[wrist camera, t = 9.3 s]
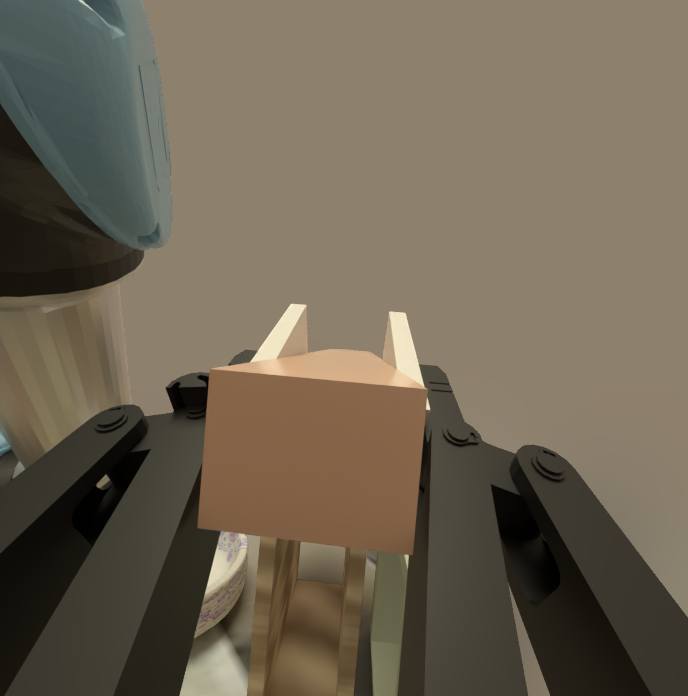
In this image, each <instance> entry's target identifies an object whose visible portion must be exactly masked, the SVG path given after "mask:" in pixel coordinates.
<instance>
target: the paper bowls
mask: <svg viewBox="0 0 688 696" xmlns="http://www.w3.org/2000/svg"><path fill="white" fill-rule="evenodd" d="M247 562H248V540H247V536H246V534H240V533H232V532H224V531H221V533H220V537H219V540H218V544H217V548H216V552H215V556H214V560H213V564H212V568H211V572H210V576H209V580H208V584H207V588H206V592H205V596H204V600H203V604H202V608H201V612H200V616H199V619H198V623H197V627H196V631H195V635H194V638H196V637H198V636H199V635H201V634H203V633H204V632H206V631H207V630H209V629H210V628H212V627H213V626H215V625H216V624H217V623H218V622H219V621H220V620H222V619H223V618H224V617H225V616H226V615H227V614H228V612H229V611H230V610H231V609H232V607H233V606H234V605H235V603H236V602H237V600H238V598H239V596H240V594H241V592H242V590H243V587H244V584H245V580H246V574H247Z"/></svg>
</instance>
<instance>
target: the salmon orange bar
mask: <svg viewBox="0 0 688 696" xmlns="http://www.w3.org/2000/svg"><path fill="white" fill-rule="evenodd" d="M427 394H428V389H427V388H425V387H424V386H422V385H421V384H419V383H417V382H416V381H414V380H413V379H411V378H410V377H408V376H407V375H405V374H403V373H402V372H400V371H399V370H397V369H396V368H394V367H393V366H391V365H390V364H388V363H386V362H385V361H383V360H382V359H380V358H379V357H377V356H376V355H374V354H373V353H371V352H367V351H356V350H343V349H330V350H324V351H318V352H312V353H306V354H300V355H294V356H288V357H282V358H274V359H268V360H262V361H255V362H249V363H243V364H237V365H231V366H225V367H219V368H213V369H210V373H209V385H208V398H207V411H206V424H205V437H204V450H203V463H202V476H201V488H200V501H199V514H198V527H197V528H200V529H208V530H216V531H224V532H232V533H240V534H247V535H255V536H263V537H271V538H279V539H287V540H295V541H302V542H310V543H318V544H326V545H334V546H342V547H350V548H357V549H365V550H374V551H381V552H389V553H397V554H405V555H412V556H413V547H414V536H415V525H416V514H417V503H418V492H419V481H420V470H421V459H422V448H423V437H424V426H425V415H426V405H427Z"/></svg>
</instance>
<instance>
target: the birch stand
mask: <svg viewBox="0 0 688 696" xmlns="http://www.w3.org/2000/svg"><path fill="white" fill-rule="evenodd" d="M300 542H301V541H295V540H287V539H279V538H271V537H263V536H260V548H259V560H258V571H257V583H256V595H255V607H254V619H253V631H252V643H251V655H250V666H249V678H248V690H247V696H354V685H355V674H356V663H357V652H358V641H359V630H360V619H361V608H362V597H363V586H364V575H365V564H366V553H367V550H365V549H357V548H350V547H346V551H345V562H344V574H343V585H335V584H328V583H320V582H312V581H304V580H297V577H298V565H299V554H300Z"/></svg>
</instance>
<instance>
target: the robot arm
mask: <svg viewBox="0 0 688 696" xmlns="http://www.w3.org/2000/svg"><path fill="white" fill-rule="evenodd" d="M169 153H170V152H169V141H168V131H167V123H166V114H165V107H164V100H163V94H162V86H161V79H160V73H159V68H158V63H157V57H156V52H155V47H154V42H153V38H152V34H151V29H150V25H149V21H148V18H147V14H146V11H145V7H144V4H143V1H142V0H0V696H179V695H180V691H181V687H182V683H183V679H184V675H185V671H186V667H187V663H188V659H189V655H190V651H191V647H192V643H193V639H194V635H195V631H196V627H197V623H198V619H199V616H200V612H201V608H202V604H203V600H204V596H205V592H206V588H207V584H208V580H209V576H210V572H211V568H212V564H213V560H214V556H215V552H216V548H217V544H218V540H219V537H220V533H221V531H216V530H208V529H200V528H197V527H198V514H199V501H200V488H201V476H202V463H203V450H204V437H205V424H206V411H207V398H208V385H209V373H201V372H199V373H191V374H188V375H185V376H182V377H180V378H178V379H176V380H174V381H172V382H171V383H170V384H169V385H168V386H167V387H166V390H167V393H168V396H169V398H170V401H171V404H172V406H173V409H174V412H173V413H167V414H161V415H153V416H144V414H143V412H142V410H141V409H140V407H138V406H135V405H132V400H131V390H130V381H129V372H128V362H127V352H126V343H125V333H124V324H123V315H122V305H121V295H120V286H119V283H121V282H123V281H125V280H127V279H128V278H129V277H131V276H132V275H134V274H135V273H136V272H137V271H138V270H139V269H140V267H141V265H142V264H143V261H144V256H145V255H144V254H145V253H144V250H147V249H150V248H160V247H162V246H164V245H165V244H166V243H167V241H168V239H169V237H170V232H171V221H172V196H171V182H170V176H171V166H170V154H169ZM307 346H308V345H307V307H306V305H299V304H291V305H290V306H289V308H288V309H287V311H286V312H285V313H284V315H283V316H282V318H281V319H280V320H279V322H278V323H277V325H276V326H275V328H274V329H273V330H272V332H271V333H270V335H269V336H268V337H267V339H266V340H265V342H264V343H263V345H262V346H261V347H260V349H259V350H258V351H253V350H245V351H243V352H241V353H240V354H238V355H236V356H235V357H234V358H233V359H232V361H231V362H230V363H229V365H228V366H231V365H237V364H243V363H249V362H255V361H262V360H268V359H274V358H282V357H288V356H294V355H300V354H306V353H308V347H307ZM383 361H385V362H386V363H388V364H390V365H391V366H393V367H394V368H396V369H397V370H399V371H400V372H402V373H403V374H405V375H407V376H408V377H410V378H411V379H413V380H414V381H416V382H417V383H419V384H421V385H422V386H424V387H425V388H427V389H428V394H427V405H426V415H425V426H424V437H423V448H422V459H421V470H420V481H419V492H418V503H417V514H416V525H415V536H414V547H413V556H412V555H409V560H408V572H407V584H406V596H405V609H404V621H403V633H402V645H401V658H400V670H399V682H398V694H397V696H528V692H527V687H526V681H525V676H524V670H523V664H522V659H521V653H520V648H519V642H518V636H517V631H516V625H515V620H514V614H513V608H512V602H511V597H510V592H509V586H508V583H509V585H510V588H511V591H512V594H513V596H514V599H515V602H516V604H517V607H518V610H519V612H520V615H521V618H522V621H523V623H524V626H525V628H526V631H527V634H528V637H529V639H530V642H531V645H532V647H533V650H534V653H535V655H536V658H537V661H538V664H539V666H540V669H541V672H542V674H543V677H544V680H545V682H546V685H547V688H548V690H549V693H550V696H688V617H687V616H686V615H685V613H684V612H683V611H682V610H681V608H680V607H679V606H678V604H677V603H676V602H675V600H674V599H673V598H672V596H671V595H670V594H669V592H668V591H667V590H666V588H665V587H664V586H663V585H662V583H661V582H660V581H659V579H658V578H657V577H656V575H655V574H654V573H653V571H652V570H651V569H650V568H649V566H648V565H647V564H646V562H645V561H644V560H643V558H642V557H641V556H640V555H639V553H638V552H637V550H636V549H635V548H634V546H633V545H632V544H631V542H630V541H629V540H628V538H627V537H626V536H625V534H624V533H623V532H622V530H621V529H620V528H619V526H618V525H617V524H616V523H615V521H614V520H613V519H612V517H611V516H610V515H609V513H608V512H607V511H606V509H605V508H604V507H603V505H602V504H601V503H600V502H599V500H598V499H597V498H596V496H595V495H594V494H593V492H592V491H591V490H590V488H589V487H588V486H587V484H586V483H585V482H584V480H583V479H582V478H581V476H580V475H579V474H578V472H577V471H576V470H575V469H574V468H573V467H572V465H571V464H570V463H569V462H567V460H565V459H564V458H563V457H561V456H560V455H558V454H557V453H555V452H553V451H551V450H549V449H547V448H544V447H541V446H536V445H525V446H523V447H521V448H520V449H519V450H518V451H517V453H516V454H515V453H512V452H509V451H506V450H503V449H500V448H497V447H495V446H492V445H490V444H487V443H485V442H484V441H482V439H481V436H480V434H479V433H478V432H477V431H476V430H475V429H474V428H473V427H472V426H470V425H469V424H467V423H465V422H464V419H463V417H462V414H461V412H460V409H459V406H458V404H457V401H456V399H455V396H454V394H453V393H452V392H453V391H452V389H451V386H450V385H449V381H448V378H447V376H446V374H445V373H444V372H443V371H442V370H441V369H440V368H439V367H438V366H431V365H419V364H418V360H417V356H416V353H415V349H414V345H413V341H412V337H411V333H410V329H409V326H408V321H407V318H406V314H405V313H399V312H389V318H388V324H387V331H386V339H385V346H384V352H383Z"/></svg>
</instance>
